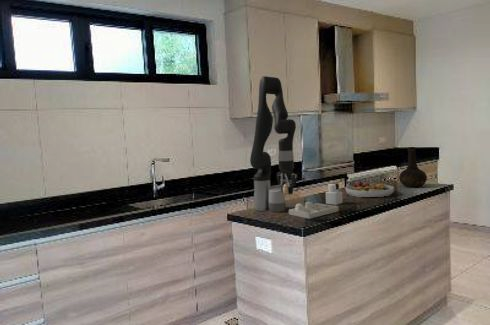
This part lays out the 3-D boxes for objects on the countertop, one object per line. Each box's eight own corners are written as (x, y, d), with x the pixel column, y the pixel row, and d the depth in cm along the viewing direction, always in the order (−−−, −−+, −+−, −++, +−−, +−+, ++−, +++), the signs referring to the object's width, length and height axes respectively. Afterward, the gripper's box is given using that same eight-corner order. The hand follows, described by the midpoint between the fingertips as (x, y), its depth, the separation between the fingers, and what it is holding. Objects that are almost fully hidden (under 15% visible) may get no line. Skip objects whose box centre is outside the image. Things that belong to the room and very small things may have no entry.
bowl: (404, 195, 244) (404, 183, 243) (365, 200, 233) (365, 188, 232) (372, 189, 272) (372, 178, 271) (336, 194, 261) (336, 182, 260)
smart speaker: (265, 212, 214) (264, 187, 213) (276, 209, 221) (275, 185, 220) (278, 214, 208) (277, 188, 206) (289, 211, 214) (288, 186, 213)
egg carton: (288, 215, 204) (288, 209, 204) (317, 208, 217) (317, 203, 217) (309, 220, 192) (309, 213, 192) (338, 212, 205) (338, 206, 205)
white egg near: (293, 214, 203) (293, 203, 203) (299, 212, 206) (299, 202, 206) (299, 215, 200) (299, 204, 199) (305, 213, 202) (305, 203, 202)
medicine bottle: (332, 201, 234) (331, 182, 233) (342, 203, 229) (342, 183, 228) (325, 203, 229) (325, 183, 228) (336, 205, 224) (335, 184, 223)
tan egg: (281, 194, 194) (280, 183, 194) (287, 193, 197) (287, 182, 196) (287, 195, 191) (286, 184, 190) (293, 194, 193) (293, 183, 193)
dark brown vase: (430, 185, 273) (429, 146, 271) (422, 189, 260) (421, 147, 257) (404, 184, 285) (403, 146, 282) (395, 187, 272) (394, 148, 269)
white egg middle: (303, 211, 208) (302, 201, 207) (308, 210, 210) (308, 200, 210) (309, 212, 204) (308, 202, 204) (314, 211, 207) (314, 201, 206)
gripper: (301, 159, 189) (302, 194, 190) (282, 158, 200) (283, 190, 202) (290, 161, 184) (291, 196, 186) (271, 159, 196) (272, 192, 197)
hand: (287, 193), depth 194 cm, fingers closed on tan egg, 4 cm apart
